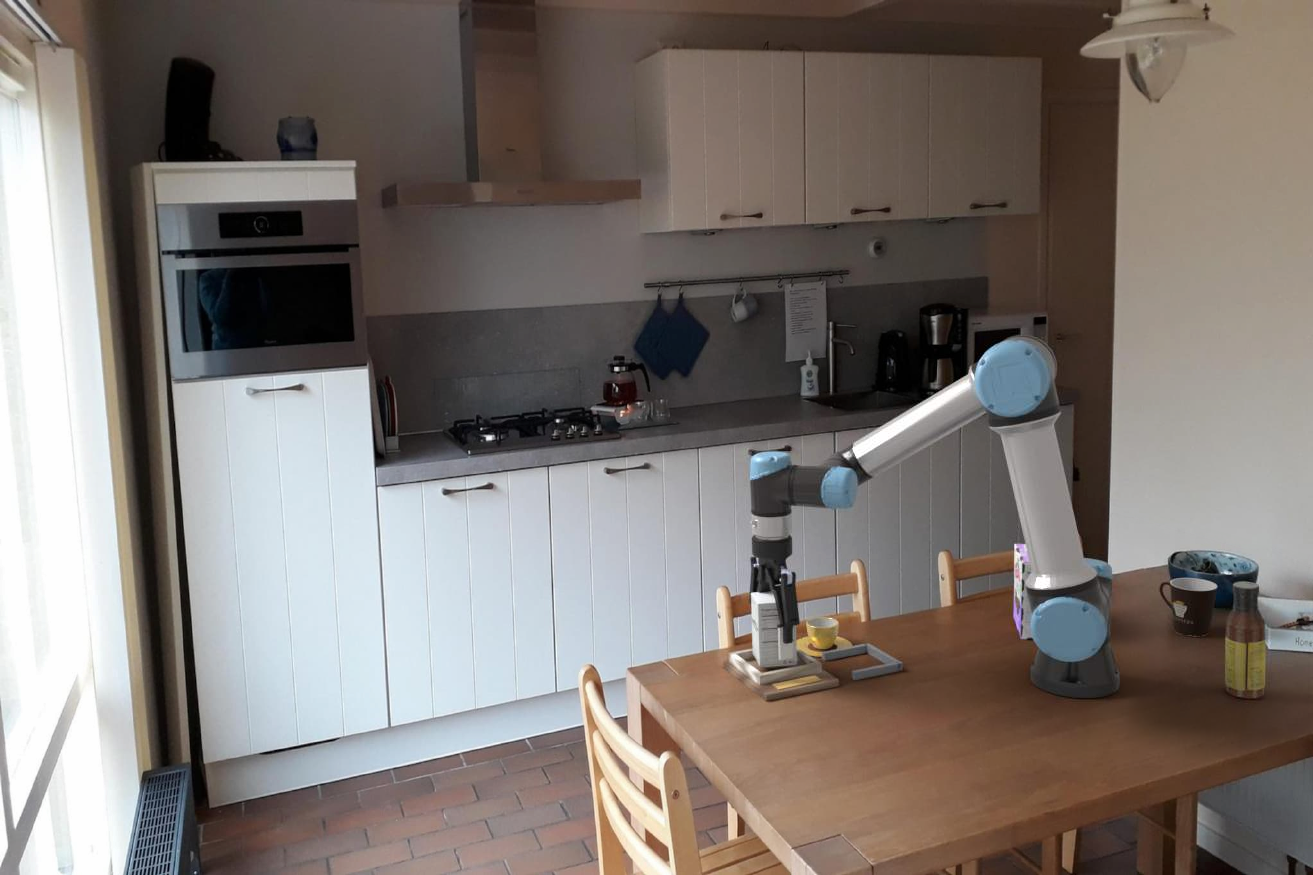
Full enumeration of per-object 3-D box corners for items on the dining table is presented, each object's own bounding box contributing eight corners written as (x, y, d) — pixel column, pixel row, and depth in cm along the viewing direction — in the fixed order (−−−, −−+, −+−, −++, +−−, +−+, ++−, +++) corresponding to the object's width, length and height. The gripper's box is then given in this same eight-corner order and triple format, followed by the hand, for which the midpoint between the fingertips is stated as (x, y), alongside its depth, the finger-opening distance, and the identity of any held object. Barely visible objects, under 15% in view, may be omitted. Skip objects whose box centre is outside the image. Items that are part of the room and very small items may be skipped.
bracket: (902, 670, 214) (902, 662, 214) (854, 680, 210) (854, 672, 210) (868, 650, 225) (868, 642, 225) (822, 659, 221) (822, 651, 221)
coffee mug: (1223, 638, 224) (1225, 590, 222) (1179, 640, 224) (1181, 591, 222) (1196, 619, 235) (1198, 572, 233) (1154, 620, 235) (1156, 574, 233)
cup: (864, 651, 225) (864, 625, 224) (812, 662, 220) (811, 636, 219) (831, 633, 236) (831, 608, 235) (781, 643, 231) (781, 618, 230)
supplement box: (751, 654, 218) (750, 591, 216) (789, 652, 219) (788, 589, 217) (758, 668, 211) (756, 603, 209) (797, 665, 211) (796, 600, 209)
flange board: (838, 686, 208) (838, 670, 207) (766, 701, 202) (765, 685, 202) (791, 654, 224) (791, 640, 224) (723, 667, 219) (722, 652, 218)
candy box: (1012, 617, 241) (1013, 542, 238) (1041, 617, 239) (1042, 542, 237) (1019, 639, 227) (1021, 561, 224) (1050, 640, 226) (1052, 561, 223)
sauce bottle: (1263, 689, 199) (1269, 580, 196) (1265, 702, 193) (1272, 591, 190) (1221, 684, 202) (1227, 577, 198) (1222, 697, 196) (1228, 587, 193)
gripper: (729, 525, 219) (732, 636, 223) (780, 551, 199) (783, 672, 203) (763, 520, 221) (766, 630, 225) (818, 545, 202) (819, 665, 206)
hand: (774, 650), depth 214 cm, fingers closed on supplement box, 8 cm apart
